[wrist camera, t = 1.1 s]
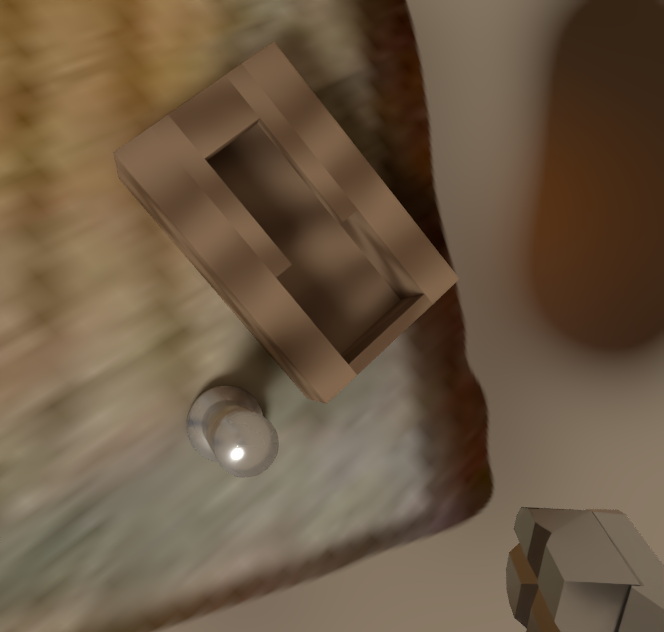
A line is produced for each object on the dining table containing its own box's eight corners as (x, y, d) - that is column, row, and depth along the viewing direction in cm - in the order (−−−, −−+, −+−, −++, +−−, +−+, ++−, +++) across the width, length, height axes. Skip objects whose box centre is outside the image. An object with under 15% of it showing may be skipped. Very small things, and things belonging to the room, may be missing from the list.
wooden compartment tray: (427, 287, 50) (459, 278, 44) (307, 398, 46) (326, 403, 41) (260, 77, 47) (273, 41, 42) (118, 178, 43) (113, 152, 38)
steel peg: (170, 420, 43) (174, 443, 32) (228, 370, 45) (252, 374, 33) (220, 475, 44) (241, 517, 32) (275, 424, 45) (314, 446, 34)
